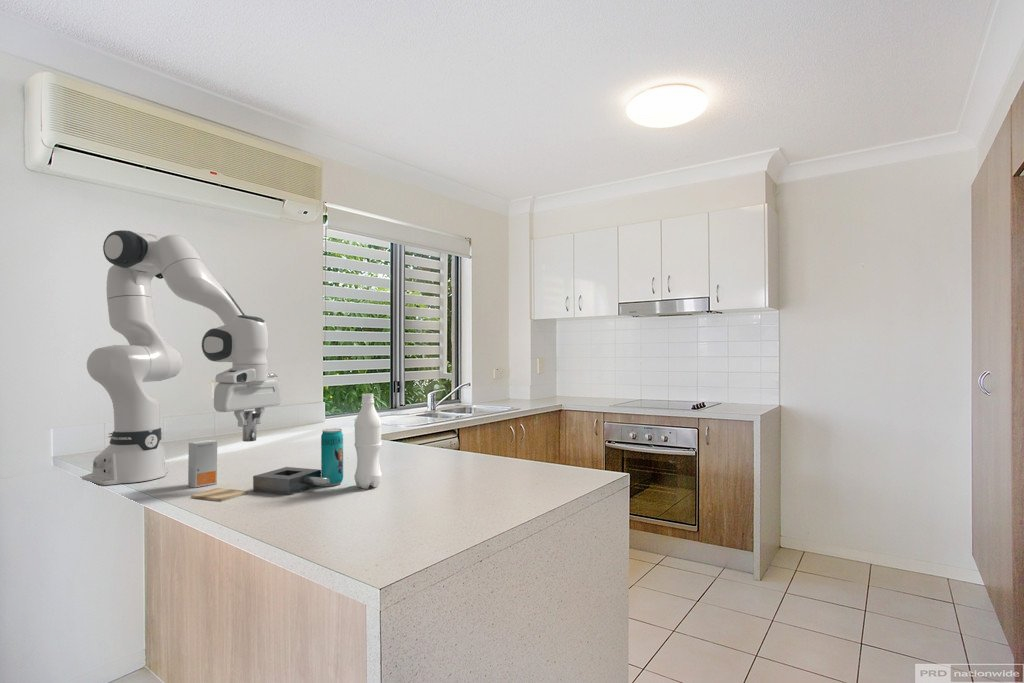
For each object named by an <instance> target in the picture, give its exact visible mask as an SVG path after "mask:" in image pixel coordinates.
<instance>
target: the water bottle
mask: <svg viewBox="0 0 1024 683" xmlns="http://www.w3.org/2000/svg"><path fill="white" fill-rule="evenodd" d="M374 397H375V396H374V393H362V394H361V402H360V403H361V409H360V410H359V412H358V414H357V416H356V418H355V420H354V425H353V426H354V447H355V452H356V459H357V461H356V469H355V473H354V481H355V485H356V486H357V487H358V488H361V489H364V490H367V489H369V487H370V486H371V487H372V488H378V487H379V485H380V484H381V481H382V476H383V473H382V471H381V470H382V469H381V466H380V450H381V447H382V446H383V445H382V444H383V443H382V420H381V417H380V415H379V414H378V412H377V409H376V408H375V399H374Z"/></svg>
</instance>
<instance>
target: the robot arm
mask: <svg viewBox="0 0 1024 683" xmlns="http://www.w3.org/2000/svg"><path fill="white" fill-rule="evenodd" d="M102 249H103V250H102V251H103V254H104V258H105V259H106V260H107V262H109V263H110V264H112V265H111V266H110V267H109V269H108V270H107V276H106V302H107V303H106V304H107V310H108V311H107V312H108V319H109V320H108V321H109V325H110V327H111V329H113V330H114V332H117V333H119V334H120V335H122V336H123V337H124V338H125V339H126V340H127V342H128V345H127V344H125V345H124V344H122V345H121V344H116V345H115V344H113V345H108V346H103V347H98V348H94V350H93V351H91V353H90V354H89V356H88V357H87V361H86V370H87V372H88V374H89V376H90V377H91V379H93V380H94V381H95V382H97V383H98V384H100V385H101V386H102V387H103V388H104V390H105V391H106V392H107V394H108V396H109V398H110V399H111V400H110V401H111V403H112V407H113V408H112V409H113V420H114V421H113V422H114V426H113V427H114V428H113V431H112V432H110V433H108V435H110V436H108V438H110V439H109V445H108V446H106V448H104V449H103V450H102V451H101V452H100V453H99V454H98V455H96V456H95V457H94V459H93V461H92V462H93V463H92V473H88V474H85V475H82V477H81V479H82V481H87V482H91V483H95V484H98V485H100V486H101V485H102V486H109V485H117V484H119V485H120V484H129V483H130V484H131V483H138V482H145V481H146V482H147V481H151V480H156V479H159V478H162V477H164V476H166V475H167V473H169V468H168V467H166V460H165V450H164V448H165V447H164V445H163V444H162V443H161V440H162V434H163V433H162V428H161V427H160V420H161V419H160V415H161V414H160V412H161V411H160V408H161V407H160V403H159V400H158V399H156V398H155V397H153V396H151V395H149V394H148V393H147V392H146V391H145V388H144V385H143V383H147V382H149V383H150V382H161V381H165V380H169V379H173V378H174V377H176V376H178V374H179V373H180V371H181V370H182V368H183V367H182V366H183V359H182V355H181V353H180V352H179V351H178V350H177V349H176V348H174V347H173V346H171V345H170V344H169V343H168V341H166V339H165V338H164V336H163V335H162V333H161V331H160V330H159V329H160V328H159V327H158V325H157V322H156V321H157V320H156V316H155V309H154V305H153V304H154V303H153V297H152V296H153V295H152V290H151V284H152V280H153V279H154V277H156V279H160V280H161V279H163V280H164V281H165V284H166V285H167V286H168V288H169V289H170V291H171V292H172V293H173V294H174V295H175V296H176V297H178V298H179V299H182V300H185V301H187V302H191V303H193V304H197V305H200V306H202V307H204V308H207V309H208V310H211V311H212V312H213V313H215V314H216V315H217V316H218V318H220V320H221V321H222V323H223V324H224V325H221V326H218V327H214V328H210V329H209V330H207V331H206V332H205V333H204V335H203V337H202V340H201V350H202V354H203V355H204V357H205V358H206V359H207V360H209V361H211V362H214V363H215V362H216V363H232V365H231V366H232V367H231V368H228V369H227V370H224V371H222V372H220V373H217V374H216V375H215V377H214V378H215V379H214V380H215V382H216V383H217V384H216V385H215V387H214V392H213V408H214V409H215V411H216V412H217V413H228V412H229V413H230V412H233V415H234V416H235V418H236V420H237V427H241V428H243V427H244V426H247V420H245V419H244V417H243V414H244V411H247V410H254V411H257V413H260V418H257V424H256V425H260V424H262V416H263V414H264V412H265V408H268V407H275V406H277V407H278V406H280V405H281V403H282V390H281V384H280V378H279V376H278V375H277V374H276V373H272V372H271V373H268V370H269V368H268V366H269V364H268V363H269V361H268V359H267V353H268V350H269V332H268V327H267V323H266V320H265V319H263V318H261V317H258V316H251V315H246V314H245V313H244V312H243V310H242V309H241V308H240V305H238V303H237V302H236V300H235V299H234V298H233V297H232V295H231V294H230V293H229V292H228V290H226V289H225V287H223V286H222V285H221V284H220V283H219V281H218V280H217V279H216V278H215V277H214V276H213V274H212V273H211V272H210V271H209V269H208V267H207V266H206V265H205V262H203V259H202V258H201V256H200V255H199V253H198V252H197V251H196V249H195V248H194V247H193V245H192V244H191V243H190V242H189V241H188V240H187V239H186V238H185V237H183V236H180V235H177V234H168V235H166V236H162V237H161V236H157V235H155V234H150V233H141V232H135V231H132V230H131V231H130V230H115V231H112V232H110V233H109V234H107V236H106V238H105V239H104V242H103V246H102Z"/></svg>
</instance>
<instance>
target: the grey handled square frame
mask: <svg viewBox="0 0 1024 683" xmlns="http://www.w3.org/2000/svg"><path fill="white" fill-rule="evenodd" d="M329 484H330V479H329V478H322V477H321V469H318V468H317V469H315V468H305V467H304V468H303V467H294V466H293V467H292V466H285V467H281V468H278V469H274V470H271V471H267V472H263V473H259V474H256V475H253V476H252V491H253V492H256V493H265V494H274V495H275V494H276V495H283V496H284V495H285V496H291V495H294V494H297V493H299V492H303V491H306V490H309V489H312V488H314V487H317V486H322V487H329V486H328V485H329Z"/></svg>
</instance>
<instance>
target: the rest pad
mask: <svg viewBox="0 0 1024 683" xmlns="http://www.w3.org/2000/svg"><path fill="white" fill-rule="evenodd" d="M246 494H248V490H243V489H241V490H240V489H230V488H222V487H217V488H214V489H210V490H205V491H202V492H199V493H195V494H192V495H191V497H190V498H191V499H199V500H207V501H208V500H209V501H214V502H215V501H216V502H222V501H226V500H230V499H232V498H235V497H239V496H242V495H246Z"/></svg>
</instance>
